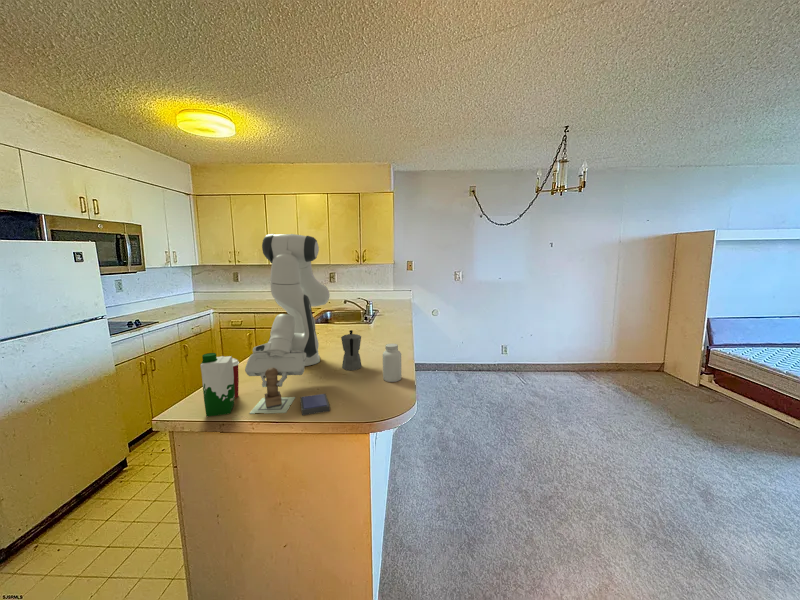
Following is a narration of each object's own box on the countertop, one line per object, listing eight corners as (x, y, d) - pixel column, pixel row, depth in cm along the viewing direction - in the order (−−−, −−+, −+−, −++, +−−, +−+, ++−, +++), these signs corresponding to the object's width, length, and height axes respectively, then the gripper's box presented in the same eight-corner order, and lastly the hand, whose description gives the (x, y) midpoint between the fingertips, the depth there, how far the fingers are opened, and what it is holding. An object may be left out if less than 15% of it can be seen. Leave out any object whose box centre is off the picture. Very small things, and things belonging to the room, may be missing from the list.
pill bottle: (379, 379, 141) (378, 345, 139) (392, 374, 147) (391, 341, 145) (392, 384, 135) (392, 348, 133) (405, 378, 141) (405, 344, 139)
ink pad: (300, 401, 119) (300, 396, 119) (325, 398, 122) (325, 392, 122) (302, 415, 109) (301, 409, 108) (329, 411, 112) (329, 405, 111)
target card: (262, 398, 122) (262, 397, 122) (295, 397, 122) (295, 396, 122) (249, 413, 110) (249, 412, 110) (285, 412, 111) (285, 411, 111)
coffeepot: (342, 363, 162) (341, 327, 160) (361, 362, 163) (360, 327, 161) (341, 374, 147) (340, 335, 145) (362, 373, 148) (362, 334, 146)
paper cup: (237, 391, 129) (234, 356, 127) (244, 397, 123) (242, 361, 122) (215, 397, 123) (212, 361, 122) (221, 403, 118) (218, 365, 116)
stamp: (265, 402, 117) (262, 366, 115) (279, 400, 119) (278, 364, 118) (266, 408, 113) (264, 371, 111) (281, 405, 115) (279, 368, 113)
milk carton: (209, 407, 115) (204, 351, 113) (237, 403, 118) (234, 349, 115) (202, 418, 107) (197, 359, 104) (232, 414, 109) (228, 356, 107)
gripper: (308, 354, 126) (303, 389, 118) (254, 355, 125) (245, 390, 117) (305, 346, 121) (300, 381, 113) (248, 347, 120) (239, 383, 112)
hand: (271, 386), depth 115 cm, fingers closed on stamp, 4 cm apart
